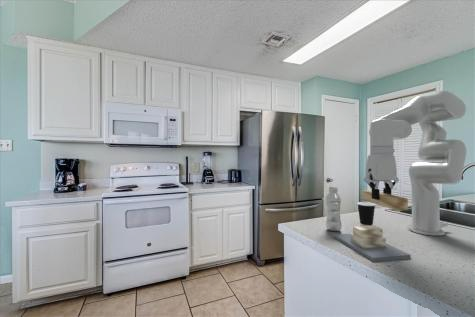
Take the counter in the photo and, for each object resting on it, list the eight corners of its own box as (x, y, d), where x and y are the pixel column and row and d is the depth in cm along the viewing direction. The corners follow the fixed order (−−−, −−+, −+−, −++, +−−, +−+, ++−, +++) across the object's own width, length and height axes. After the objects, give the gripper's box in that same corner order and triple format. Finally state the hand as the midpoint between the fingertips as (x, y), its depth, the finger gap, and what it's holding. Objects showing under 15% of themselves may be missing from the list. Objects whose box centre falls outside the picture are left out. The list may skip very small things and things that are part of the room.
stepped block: (371, 239, 87) (371, 224, 87) (385, 246, 80) (385, 229, 80) (350, 240, 86) (350, 225, 86) (363, 248, 79) (363, 231, 79)
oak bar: (370, 199, 94) (370, 190, 94) (407, 210, 74) (407, 198, 74) (361, 199, 94) (361, 190, 94) (396, 210, 74) (396, 198, 74)
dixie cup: (378, 228, 103) (378, 205, 103) (360, 228, 105) (360, 205, 105) (371, 223, 111) (371, 202, 111) (354, 223, 113) (354, 201, 113)
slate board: (363, 235, 95) (363, 232, 95) (410, 258, 73) (410, 254, 73) (333, 237, 93) (333, 234, 93) (372, 261, 71) (372, 257, 71)
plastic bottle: (343, 233, 97) (342, 188, 97) (327, 232, 99) (326, 188, 99) (339, 228, 104) (339, 186, 104) (324, 228, 105) (324, 186, 105)
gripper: (392, 152, 89) (392, 197, 89) (355, 151, 87) (354, 197, 86) (409, 151, 82) (409, 200, 82) (369, 150, 79) (369, 201, 79)
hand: (381, 198), depth 84 cm, fingers closed on oak bar, 4 cm apart
